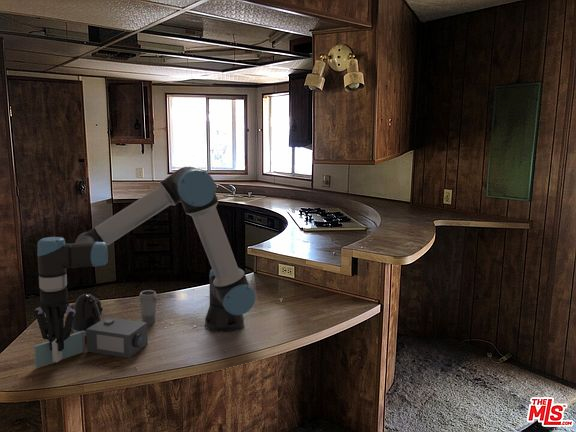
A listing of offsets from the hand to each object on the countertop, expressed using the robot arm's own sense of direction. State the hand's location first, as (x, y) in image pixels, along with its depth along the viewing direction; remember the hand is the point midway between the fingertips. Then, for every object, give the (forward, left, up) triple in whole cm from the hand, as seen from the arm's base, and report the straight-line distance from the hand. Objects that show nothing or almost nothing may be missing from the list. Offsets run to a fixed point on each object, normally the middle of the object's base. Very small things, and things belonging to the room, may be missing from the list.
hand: (57, 360), depth 143 cm
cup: (-8, -39, -2) cm, 40 cm away
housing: (-10, -16, -2) cm, 19 cm away
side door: (+2, -4, -2) cm, 4 cm away
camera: (+15, -34, -2) cm, 37 cm away
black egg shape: (+7, -22, -2) cm, 24 cm away
